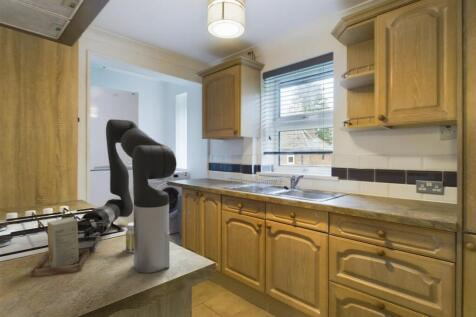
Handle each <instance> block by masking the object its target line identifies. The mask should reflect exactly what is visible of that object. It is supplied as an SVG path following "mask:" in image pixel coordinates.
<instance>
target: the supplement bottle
mask: <svg viewBox="0 0 476 317" xmlns="http://www.w3.org/2000/svg"><path fill="white" fill-rule="evenodd" d="M126 228H127V229H126V231H125V251H126V252H127V253H134V221H132V222H128V223H127V224H126Z"/></svg>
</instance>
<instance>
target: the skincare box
mask: <svg viewBox="0 0 476 317" xmlns="http://www.w3.org/2000/svg"><path fill="white" fill-rule="evenodd" d="M77 221H78V219H76V218H74V217H66V218H63V219H57V220H51V221H47V244H48V246H47V248H48V253H49V261H48V263H49V264H48V265H49V266H50V268H51V267H59V266H68V265H75V264H78V263H79V262H80V257H79V256H80V255H79V251H78V237H79V232H78V226H77Z"/></svg>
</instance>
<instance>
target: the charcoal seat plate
mask: <svg viewBox="0 0 476 317" xmlns="http://www.w3.org/2000/svg"><path fill="white" fill-rule="evenodd" d="M100 241H101V234H100V235H91V236H89V237H88V238H84V236H81V237H80V236H78V250H79V249H89V248H90V253H93V252H95V251H96V249H97V247H98V245H99V243H100Z"/></svg>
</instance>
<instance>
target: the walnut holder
mask: <svg viewBox="0 0 476 317" xmlns="http://www.w3.org/2000/svg"><path fill="white" fill-rule="evenodd" d="M78 251H79V256H81V259H79V262H78V263H76V264H71V265H67V266H59V267H51V266H50V267H44V266H45V265H47V263H49V252H47V253H46V254H45V255H44V256H43V257H42V259H41V260H40V261H39V262H38V263H37V264H36V265H35V267H33V268H32V269H31V270H30V271H31V273H30V274H31V275H30V276H31V278H32V277H33V278H34V277H41V276H50V275H57V274H58V275H59V274H66V273H73V272H76V273H77V272H81V271H82V270H83V268H84V265H85V263H86V262H87V260H88V258H89V256H90V253H91V252H90V248H89V249H79V250H78Z"/></svg>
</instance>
